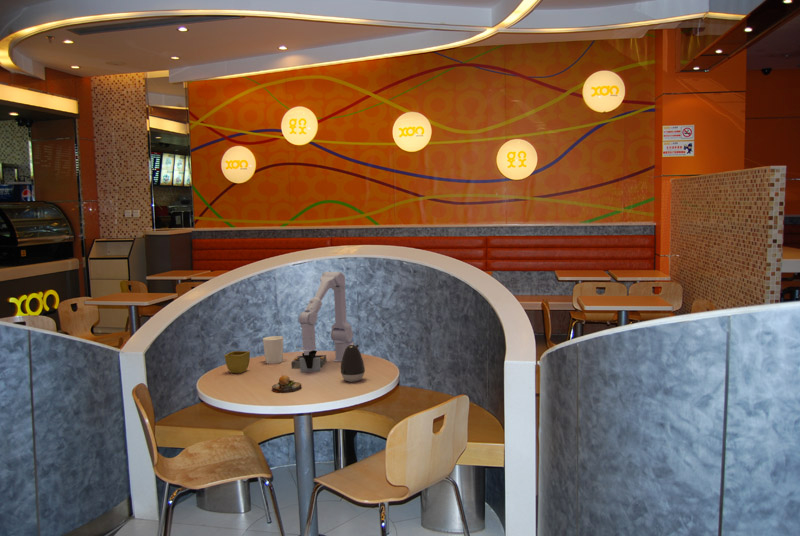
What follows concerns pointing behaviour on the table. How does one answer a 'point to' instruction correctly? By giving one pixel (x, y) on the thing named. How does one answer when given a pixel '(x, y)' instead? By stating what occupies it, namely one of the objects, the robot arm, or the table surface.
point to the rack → (297, 360)
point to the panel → (314, 368)
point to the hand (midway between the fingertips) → (310, 367)
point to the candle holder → (273, 349)
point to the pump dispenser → (352, 364)
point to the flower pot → (237, 361)
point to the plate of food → (286, 385)
